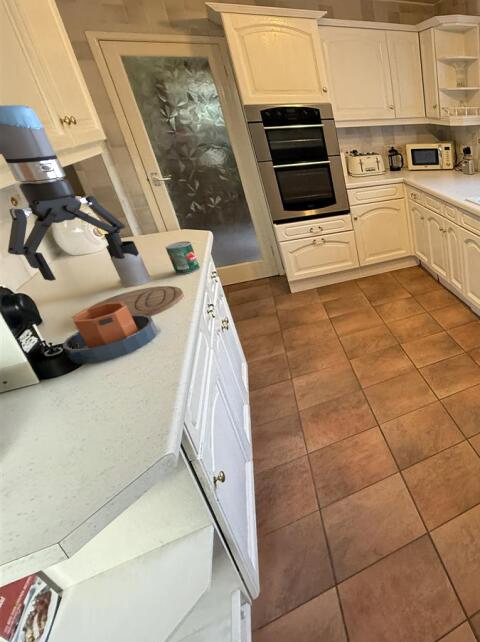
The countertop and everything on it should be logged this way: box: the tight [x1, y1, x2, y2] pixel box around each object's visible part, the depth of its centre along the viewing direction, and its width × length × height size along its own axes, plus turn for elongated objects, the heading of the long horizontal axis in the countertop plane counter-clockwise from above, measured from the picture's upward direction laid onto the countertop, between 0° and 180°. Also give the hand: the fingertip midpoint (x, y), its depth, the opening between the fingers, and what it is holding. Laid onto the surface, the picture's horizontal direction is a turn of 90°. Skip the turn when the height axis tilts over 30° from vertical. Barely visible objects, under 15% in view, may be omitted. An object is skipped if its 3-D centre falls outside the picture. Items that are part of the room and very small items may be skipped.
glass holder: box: [105, 240, 153, 288], centre depth 147 cm, size 9×14×15 cm, turn 30°
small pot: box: [70, 302, 139, 348], centre depth 105 cm, size 13×10×11 cm
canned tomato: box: [164, 240, 201, 275], centre depth 155 cm, size 8×8×11 cm
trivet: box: [88, 285, 185, 317], centre depth 128 cm, size 25×25×2 cm
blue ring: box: [62, 315, 159, 365], centre depth 106 cm, size 17×17×6 cm
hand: (87, 268), depth 96 cm, fingers open, 13 cm apart
